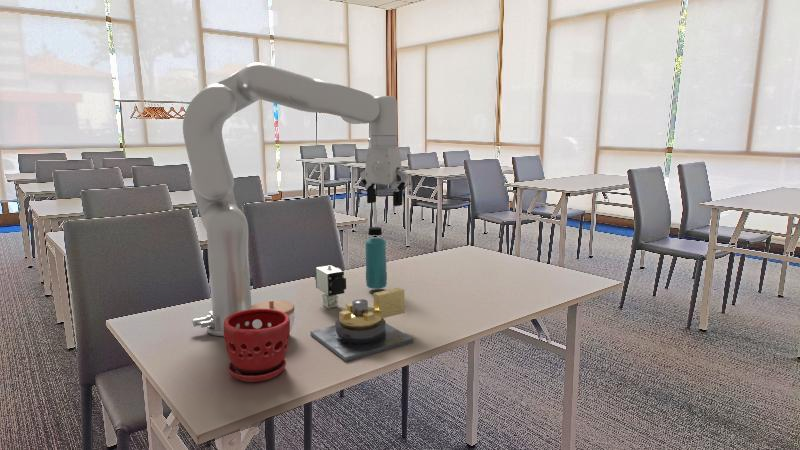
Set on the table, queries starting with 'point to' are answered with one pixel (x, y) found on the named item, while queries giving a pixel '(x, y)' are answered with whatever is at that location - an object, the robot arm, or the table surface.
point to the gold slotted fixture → (372, 310)
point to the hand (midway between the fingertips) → (384, 204)
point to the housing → (360, 340)
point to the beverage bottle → (376, 260)
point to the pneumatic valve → (330, 284)
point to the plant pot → (256, 344)
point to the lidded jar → (275, 305)
